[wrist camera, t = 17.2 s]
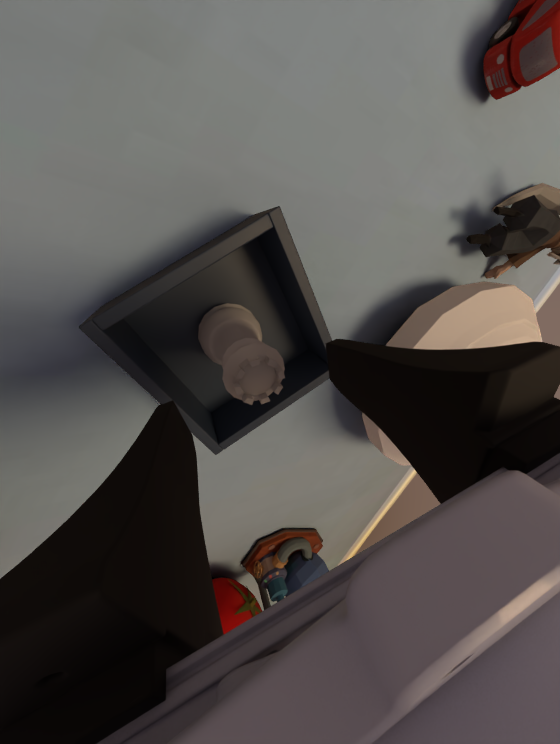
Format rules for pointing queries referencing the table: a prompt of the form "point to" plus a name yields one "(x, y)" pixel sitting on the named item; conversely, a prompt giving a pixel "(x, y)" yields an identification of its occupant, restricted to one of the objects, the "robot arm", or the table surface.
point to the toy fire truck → (524, 47)
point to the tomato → (234, 603)
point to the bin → (186, 310)
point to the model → (285, 563)
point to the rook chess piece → (241, 353)
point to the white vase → (462, 331)
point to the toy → (523, 228)
